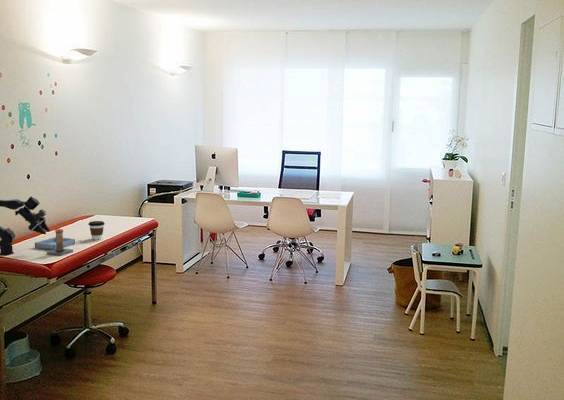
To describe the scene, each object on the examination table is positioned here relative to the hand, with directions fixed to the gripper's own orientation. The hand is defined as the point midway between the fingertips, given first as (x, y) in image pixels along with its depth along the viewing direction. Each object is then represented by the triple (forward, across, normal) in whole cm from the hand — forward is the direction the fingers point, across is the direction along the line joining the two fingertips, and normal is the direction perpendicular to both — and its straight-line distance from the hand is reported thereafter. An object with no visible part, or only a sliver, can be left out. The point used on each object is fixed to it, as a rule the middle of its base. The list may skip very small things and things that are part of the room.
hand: (47, 232), depth 344 cm
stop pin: (+14, 0, +4) cm, 15 cm away
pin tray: (+9, +20, +10) cm, 24 cm away
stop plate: (+14, 0, +4) cm, 15 cm away
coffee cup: (+26, +40, -7) cm, 48 cm away
